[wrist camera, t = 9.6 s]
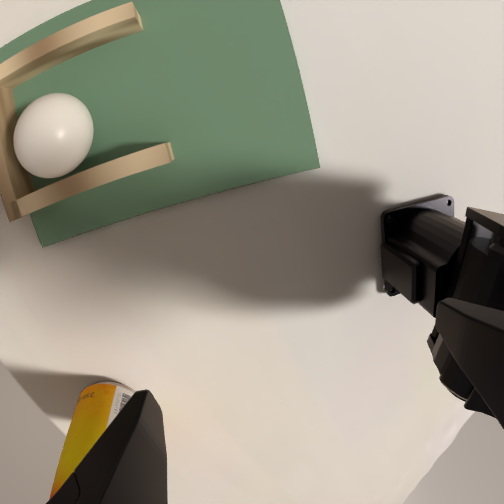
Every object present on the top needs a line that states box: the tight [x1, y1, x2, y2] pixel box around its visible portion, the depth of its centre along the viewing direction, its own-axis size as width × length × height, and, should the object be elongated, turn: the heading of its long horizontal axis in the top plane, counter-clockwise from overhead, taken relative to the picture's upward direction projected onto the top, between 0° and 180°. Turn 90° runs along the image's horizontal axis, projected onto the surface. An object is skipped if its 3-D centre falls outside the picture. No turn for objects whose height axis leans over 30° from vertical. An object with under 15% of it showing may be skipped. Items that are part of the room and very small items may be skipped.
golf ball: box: [13, 93, 94, 178], centre depth 14 cm, size 4×4×4 cm
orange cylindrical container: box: [49, 381, 135, 500], centre depth 16 cm, size 6×6×15 cm
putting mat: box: [0, 0, 320, 248], centre depth 16 cm, size 18×14×1 cm
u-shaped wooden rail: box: [0, 2, 174, 222], centre depth 14 cm, size 10×9×2 cm
